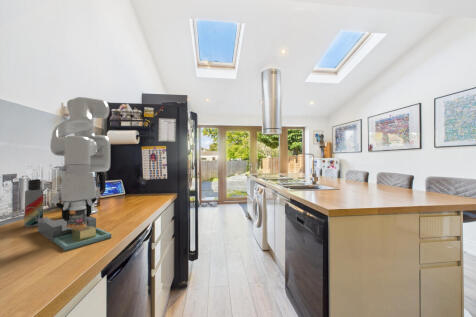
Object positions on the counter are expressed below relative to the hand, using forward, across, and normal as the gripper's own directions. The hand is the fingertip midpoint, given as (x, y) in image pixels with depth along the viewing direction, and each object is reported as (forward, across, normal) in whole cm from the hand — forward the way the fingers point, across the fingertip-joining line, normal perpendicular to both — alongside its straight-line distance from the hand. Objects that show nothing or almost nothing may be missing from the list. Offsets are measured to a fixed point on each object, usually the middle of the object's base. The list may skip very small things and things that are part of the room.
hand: (77, 217), depth 74 cm
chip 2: (+4, 0, -7) cm, 8 cm away
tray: (+7, 0, -6) cm, 9 cm away
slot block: (+7, 0, +10) cm, 12 cm away
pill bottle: (+4, 0, 0) cm, 4 cm away
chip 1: (+6, 0, -5) cm, 8 cm away
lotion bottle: (+7, -6, +32) cm, 33 cm away
